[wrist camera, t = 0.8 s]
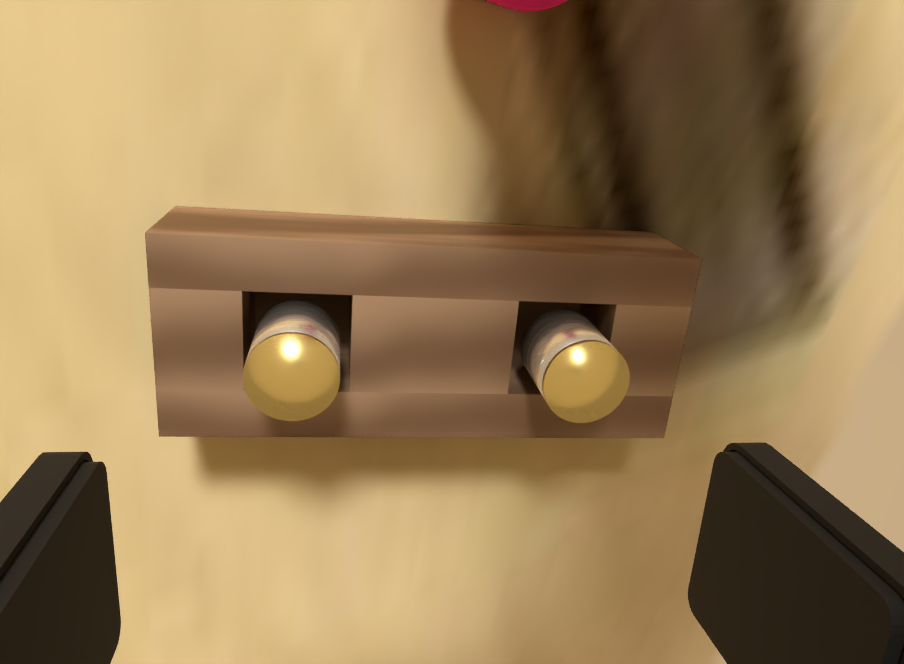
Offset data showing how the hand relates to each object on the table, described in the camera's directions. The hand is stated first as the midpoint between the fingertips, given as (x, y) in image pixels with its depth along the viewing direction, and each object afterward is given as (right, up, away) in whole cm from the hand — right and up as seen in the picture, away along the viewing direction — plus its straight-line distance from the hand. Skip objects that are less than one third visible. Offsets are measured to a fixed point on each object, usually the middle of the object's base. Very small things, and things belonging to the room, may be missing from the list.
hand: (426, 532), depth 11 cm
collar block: (-1, +4, +29) cm, 29 cm away
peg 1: (-7, +3, +23) cm, 24 cm away
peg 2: (+6, +2, +25) cm, 26 cm away
